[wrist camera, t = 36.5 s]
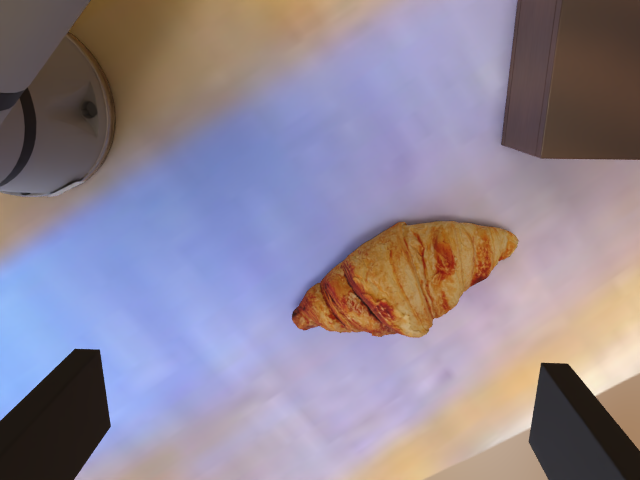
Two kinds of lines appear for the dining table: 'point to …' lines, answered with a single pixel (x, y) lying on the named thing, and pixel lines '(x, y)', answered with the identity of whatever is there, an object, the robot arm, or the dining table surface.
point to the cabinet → (575, 80)
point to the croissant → (404, 278)
